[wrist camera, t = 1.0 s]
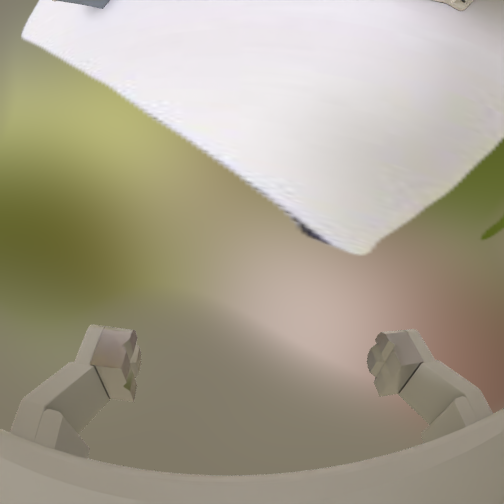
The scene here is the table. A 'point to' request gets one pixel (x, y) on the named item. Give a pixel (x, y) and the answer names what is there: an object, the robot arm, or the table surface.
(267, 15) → the table surface
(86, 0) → the tin
